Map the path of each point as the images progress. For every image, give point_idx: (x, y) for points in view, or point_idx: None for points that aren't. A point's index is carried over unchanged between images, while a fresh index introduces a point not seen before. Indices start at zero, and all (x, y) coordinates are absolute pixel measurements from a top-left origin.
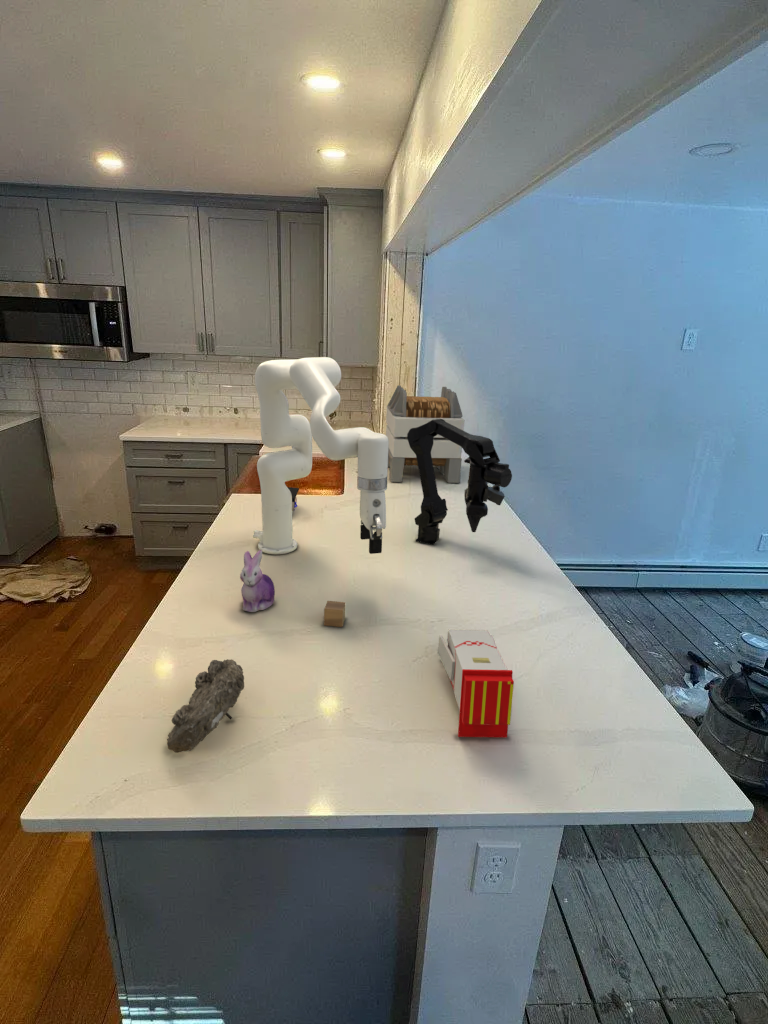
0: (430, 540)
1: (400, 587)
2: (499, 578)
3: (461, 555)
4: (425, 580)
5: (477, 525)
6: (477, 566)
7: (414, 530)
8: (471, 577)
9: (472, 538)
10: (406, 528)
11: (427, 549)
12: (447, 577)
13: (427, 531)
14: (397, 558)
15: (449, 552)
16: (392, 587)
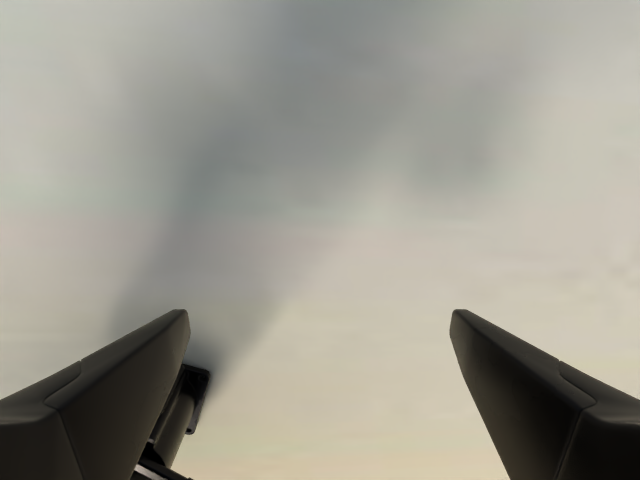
0: (189, 392)
1: None
2: (557, 74)
3: (291, 256)
4: None
5: (531, 349)
6: (412, 185)
7: None
8: (538, 220)
9: (36, 192)
10: None
11: (260, 388)
12: (534, 317)
13: (177, 445)
14: (370, 471)
15: (268, 307)
16: None
